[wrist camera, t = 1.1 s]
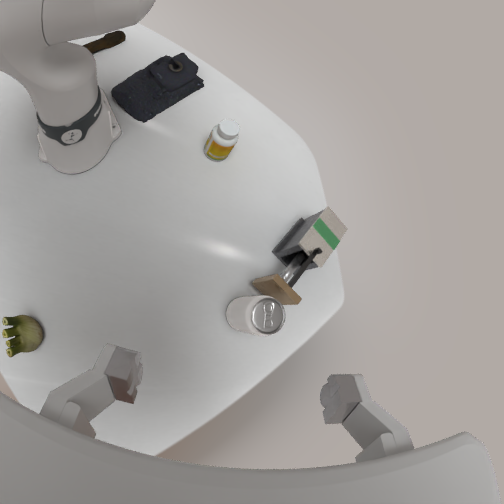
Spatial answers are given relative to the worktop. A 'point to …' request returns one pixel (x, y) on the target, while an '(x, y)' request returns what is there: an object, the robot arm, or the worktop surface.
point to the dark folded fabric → (158, 86)
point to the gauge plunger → (285, 280)
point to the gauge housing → (311, 238)
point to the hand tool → (106, 41)
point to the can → (256, 315)
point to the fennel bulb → (22, 334)
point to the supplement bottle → (222, 140)
